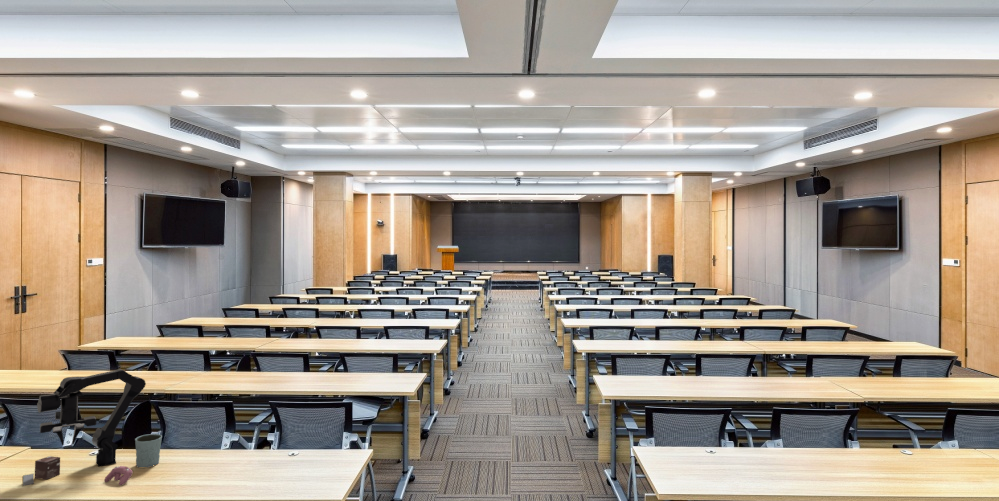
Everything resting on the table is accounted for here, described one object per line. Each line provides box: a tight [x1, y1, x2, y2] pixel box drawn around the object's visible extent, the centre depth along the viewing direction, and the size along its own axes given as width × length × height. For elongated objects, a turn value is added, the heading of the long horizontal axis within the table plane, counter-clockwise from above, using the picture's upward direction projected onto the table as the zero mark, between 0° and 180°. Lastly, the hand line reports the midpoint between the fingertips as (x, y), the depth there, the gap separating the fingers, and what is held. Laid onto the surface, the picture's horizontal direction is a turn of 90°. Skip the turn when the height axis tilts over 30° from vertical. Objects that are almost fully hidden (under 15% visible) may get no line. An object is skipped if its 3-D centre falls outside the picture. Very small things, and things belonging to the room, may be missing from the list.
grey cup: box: [134, 433, 163, 468], centre depth 246 cm, size 10×10×12 cm
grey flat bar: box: [22, 473, 35, 487], centre depth 226 cm, size 3×12×1 cm, turn 41°
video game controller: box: [104, 465, 134, 486], centre depth 227 cm, size 10×5×7 cm, turn 71°
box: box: [34, 455, 61, 480], centre depth 230 cm, size 6×6×7 cm
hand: (67, 444), depth 234 cm, fingers open, 3 cm apart
